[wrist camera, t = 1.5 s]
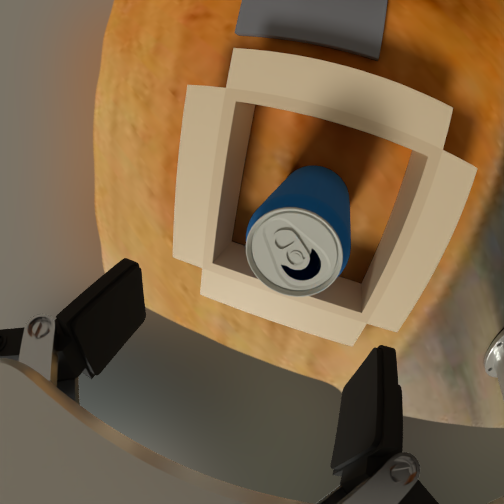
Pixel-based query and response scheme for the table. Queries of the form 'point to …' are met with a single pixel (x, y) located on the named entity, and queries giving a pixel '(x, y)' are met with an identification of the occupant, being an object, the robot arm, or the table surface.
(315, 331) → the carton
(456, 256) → the table surface
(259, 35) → the mat
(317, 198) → the beverage can
